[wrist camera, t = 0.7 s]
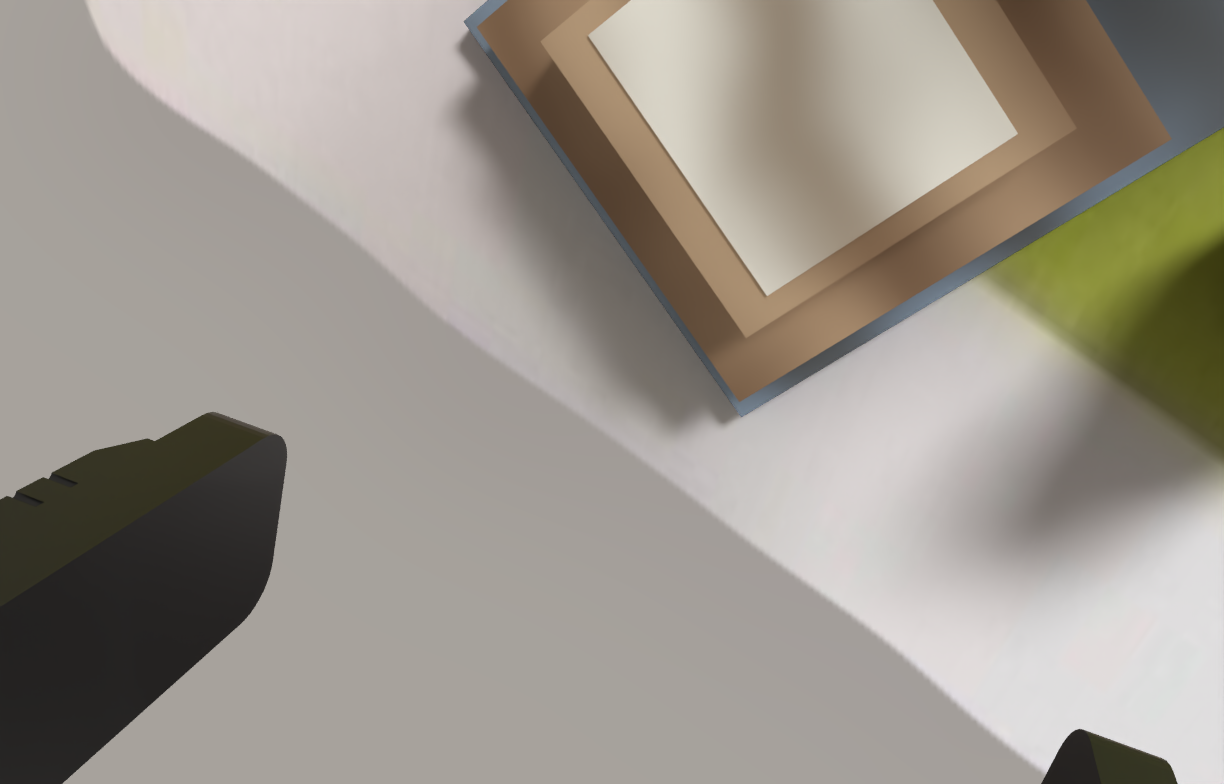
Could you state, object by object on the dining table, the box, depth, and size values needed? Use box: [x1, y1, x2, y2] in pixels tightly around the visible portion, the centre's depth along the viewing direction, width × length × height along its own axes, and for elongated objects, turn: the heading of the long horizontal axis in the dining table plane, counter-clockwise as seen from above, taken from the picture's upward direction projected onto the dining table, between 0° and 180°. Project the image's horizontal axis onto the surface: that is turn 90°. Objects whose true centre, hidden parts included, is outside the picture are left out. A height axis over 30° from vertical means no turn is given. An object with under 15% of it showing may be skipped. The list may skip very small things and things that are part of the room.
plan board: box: [464, 0, 1224, 417], centre depth 29 cm, size 22×16×6 cm
